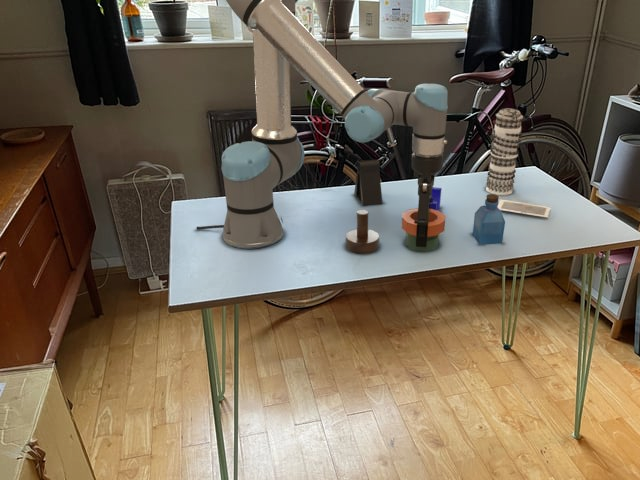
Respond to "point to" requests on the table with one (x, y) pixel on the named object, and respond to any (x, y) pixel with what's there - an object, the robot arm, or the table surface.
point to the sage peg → (431, 241)
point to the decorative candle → (504, 151)
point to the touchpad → (524, 208)
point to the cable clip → (435, 198)
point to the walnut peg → (362, 236)
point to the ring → (434, 224)
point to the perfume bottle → (489, 222)
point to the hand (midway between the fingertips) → (422, 236)
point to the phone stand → (368, 182)
